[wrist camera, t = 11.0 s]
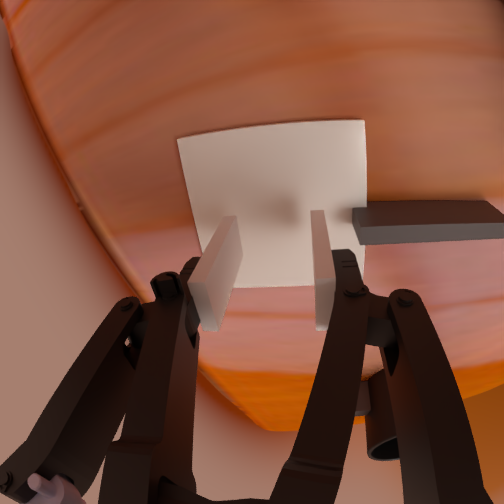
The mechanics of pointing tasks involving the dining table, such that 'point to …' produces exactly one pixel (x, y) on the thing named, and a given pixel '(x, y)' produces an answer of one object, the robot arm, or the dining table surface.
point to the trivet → (278, 192)
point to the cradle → (422, 233)
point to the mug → (380, 421)
